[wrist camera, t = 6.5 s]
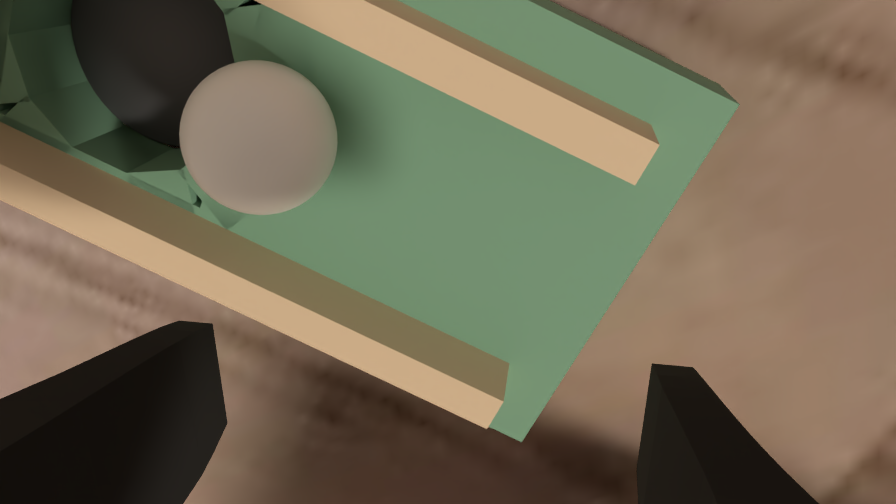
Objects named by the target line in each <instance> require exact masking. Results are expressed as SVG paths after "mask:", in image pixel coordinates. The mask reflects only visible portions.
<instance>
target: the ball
mask: <svg viewBox="0 0 896 504" xmlns="http://www.w3.org/2000/svg"><path fill="white" fill-rule="evenodd" d="M179 139H180V147H181V152H182V156H183V159H184V162H185V165H186V167H187V169H188V171H189V173H190V175H191V176H192V177H193V179H194V180H195V182H196V183H197V184H198V186H199V187H200V188H201V189H202V190H203V191H204V192H205V193H206V194H207V195H209V196H210V197H211V198H212V199H214V200H215V201H217V202H218V203H220V204H222V205H224V206H226V207H228V208H230V209H232V210H235V211H238V212H242V213H247V214H254V215H271V214H277V213H281V212H285V211H288V210H291V209H293V208H295V207H297V206H299V205H301V204H302V203H304V202H306V201H307V200H308V199H310V198H311V197H312V196H313V195H314V194H315V193H316V192H317V191H318V190H319V189H320V188H321V187H322V186H323V184H324V183H325V181H326V180H327V178H328V176H329V174H330V173H331V170H332V167H333V165H334V162H335V158H336V153H337V144H338V141H337V129H336V123H335V120H334V116H333V113H332V111H331V109H330V107H329V104H328V103H327V101H326V100H325V98H324V96H323V95H322V94H321V92H320V91H319V90H318V89H317V87H316V86H315V85H314V84H313V83H311V82H310V81H309V80H308V79H307V78H306V77H304V76H303V75H302V74H300V73H298V72H297V71H295V70H293V69H291V68H289V67H287V66H284V65H282V64H278V63H274V62H270V61H263V60H248V61H240V62H236V63H232V64H229V65H227V66H224V67H222V68H219V69H218V70H216V71H215V72H213V73H211V74H210V75H208V76H207V77H206V78H205V79H204V80H202V81H201V82H200V83H199V85H198V86H197V87H196V88H195V89H194V91H193V92H192V93H191V95H190V97H189V98H188V100H187V102H186V105H185V107H184V109H183V113H182V117H181V121H180V130H179Z"/></svg>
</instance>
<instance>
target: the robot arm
mask: <svg viewBox="0 0 896 504" xmlns="http://www.w3.org/2000/svg"><path fill="white" fill-rule="evenodd" d="M226 425H227V417H226V411H225V404H224V397H223V391H222V384H221V377H220V371H219V364H218V357H217V350H216V344H215V337H214V330H213V324H210V323H199V322H188V321H177V322H174V323H171V324H168V325H165V326H163V327H160V328H158V329H155V330H153V331H151V332H148V333H146V334H144V335H142V336H139V337H137V338H135V339H133V340H131V341H128V342H126V343H124V344H122V345H120V346H118V347H115V348H113V349H111V350H109V351H107V352H105V353H103V354H100V355H98V356H96V357H94V358H92V359H90V360H88V361H85V362H83V363H81V364H79V365H77V366H75V367H72V368H70V369H68V370H66V371H64V372H62V373H59V374H57V375H55V376H53V377H50V378H48V379H46V380H43V381H41V382H39V383H36V384H34V385H32V386H29V387H27V388H25V389H22V390H20V391H18V392H15V393H13V394H11V395H8V396H6V397H4V398H1V399H0V504H183V503H184V502H185V500H186V499H187V497H188V496H189V494H190V493H191V491H192V490H193V488H194V487H195V485H196V483H197V482H198V480H199V479H200V477H201V476H202V474H203V472H204V470H205V468H206V466H207V464H208V462H209V461H210V459H211V457H212V455H213V453H214V451H215V449H216V446H217V444H218V442H219V440H220V438H221V436H222V434H223V431H224V429H225V427H226ZM637 487H638V504H819V503H818V502H816V501H815V500H814V499H813V498H812V497H811V496H810V495H809V494H808V493H807V492H806V491H805V490H804V489H803V488H802V487H801V486H800V485H799V484H798V483H797V482H796V481H795V480H794V479H793V478H792V477H790V476H789V475H788V474H787V473H786V472H785V471H784V470H783V469H782V468H781V467H780V466H779V465H778V463H777V462H776V461H775V460H774V459H773V458H772V457H771V456H770V455H769V454H768V453H767V452H766V451H765V450H764V449H763V448H762V447H761V446H760V444H759V443H758V442H757V441H756V440H755V439H754V438H753V437H752V436H751V435H750V434H749V432H748V431H747V430H746V429H745V428H744V427H743V426H742V424H741V423H740V422H739V421H738V420H737V419H736V417H735V416H734V415H733V414H732V413H731V412H730V410H729V409H728V408H727V407H726V406H725V405H724V403H723V402H722V401H721V400H720V399H719V397H718V396H717V395H716V394H715V393H714V391H713V390H712V389H711V388H710V387H709V385H708V384H707V383H706V382H705V381H704V379H703V378H702V377H701V376H700V375H699V374H698V372H697V371H696V370H695V369H694V368H693V367H684V366H673V365H662V364H652V366H651V373H650V380H649V387H648V394H647V401H646V408H645V415H644V422H643V429H642V435H641V442H640V449H639V456H638V463H637Z"/></svg>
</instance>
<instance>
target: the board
mask: <svg viewBox="0 0 896 504" xmlns="http://www.w3.org/2000/svg"><path fill="white" fill-rule="evenodd" d="M248 60H263V61H270V62H274V63H278V64H282V65H284V66H287V67H289V68H291V69H293V70H295V71H297V72H298V73H300V74H302V75H303V76H304V77H306V78H307V79H308V80H309V81H310V82H311V83H313V84H314V85H315V86H316V87H317V89H318V90H319V91H320V92H321V94H322V95H323V96H324V98H325V100H326V101H327V103H328V104H329V107H330V109H331V111H332V113H333V116H334V120H335V123H336V129H337V141H338V144H337V153H336V158H335V162H334V165H333V167H332V170H331V173H330V174H329V176H328V178H327V180H326V181H325V183H324V184H323V186H322V187H321V188H320V189H319V190H318V191H317V192H316V193H315V194H314V195H313V196H312V197H311V198H310V199H308V200H307V201H306V202H304V203H302V204H301V205H299V206H297V207H295V208H293V209H291V210H288V211H285V212H281V213H277V214H271V215H254V214H247V213H242V212H238V211H235V210H232V209H230V208H228V207H226V206H224V205H222V204H220V203H218V202H217V201H215V200H214V199H212V198H211V197H210V196H209V195H207V194H206V193H205V192H204V191H203V190H202V189H201V188H200V187H199V186H198V184H197V183H196V182H195V180H194V179H193V177H192V176H191V175H190V173H189V171H188V169H187V167H186V165H185V162H184V159H183V156H182V152H181V148H172V147H170V146H168V145H173V146H180V139H179V130H180V121H181V117H182V113H183V109H184V107H185V105H186V102H187V100H188V98H189V97H190V95H191V93H192V92H193V91H194V89H195V88H196V87H197V86H198V85H199V83H200V82H201V81H202V80H204V79H205V78H206V77H207V76H208V75H210V74H211V73H213V72H215V71H216V70H218V69H219V68H222V67H224V66H227V65H229V64H232V63H236V62H240V61H248ZM739 105H740V104H739V103H738V102H737V101H736V100H734V99H733V98H732V97H731V96H730V95H729V94H728V93H727V92H726V91H725V90H724V89H723V88H722V87H721V86H720V85H719V84H718V83H716V82H714V81H712V80H710V79H708V78H706V77H704V76H702V75H700V74H697V73H695V72H693V71H691V70H689V69H687V68H685V67H683V66H681V65H679V64H677V63H675V62H673V61H671V60H669V59H667V58H665V57H663V56H661V55H659V54H657V53H655V52H653V51H651V50H649V49H647V48H645V47H643V46H641V45H639V44H637V43H635V42H633V41H631V40H629V39H627V38H625V37H623V36H620V35H618V34H616V33H614V32H612V31H610V30H608V29H606V28H604V27H602V26H600V25H598V24H596V23H594V22H592V21H590V20H588V19H586V18H584V17H582V16H580V15H578V14H576V13H574V12H572V11H570V10H568V9H566V8H564V7H562V6H560V5H558V4H556V3H554V2H552V1H550V0H0V200H1V201H3V202H6V203H8V204H10V205H12V206H14V207H16V208H18V209H20V210H23V211H25V212H27V213H29V214H31V215H33V216H35V217H37V218H40V219H42V220H44V221H46V222H48V223H50V224H52V225H54V226H56V227H59V228H61V229H63V230H65V231H67V232H69V233H71V234H73V235H76V236H78V237H80V238H82V239H84V240H86V241H88V242H90V243H93V244H95V245H97V246H99V247H101V248H103V249H105V250H107V251H110V252H112V253H114V254H116V255H118V256H120V257H122V258H124V259H127V260H129V261H131V262H133V263H135V264H137V265H139V266H141V267H144V268H146V269H148V270H150V271H152V272H154V273H156V274H158V275H161V276H163V277H165V278H167V279H169V280H171V281H173V282H175V283H178V284H180V285H182V286H184V287H186V288H188V289H190V290H192V291H195V292H197V293H199V294H201V295H203V296H205V297H207V298H209V299H212V300H214V301H216V302H218V303H220V304H222V305H224V306H226V307H229V308H231V309H233V310H235V311H237V312H239V313H241V314H243V315H246V316H248V317H250V318H252V319H254V320H256V321H258V322H260V323H262V324H265V325H267V326H269V327H271V328H273V329H275V330H277V331H279V332H282V333H284V334H286V335H288V336H290V337H292V338H294V339H296V340H299V341H301V342H303V343H305V344H307V345H309V346H311V347H313V348H316V349H318V350H320V351H322V352H324V353H326V354H328V355H330V356H333V357H335V358H337V359H339V360H341V361H343V362H345V363H347V364H350V365H352V366H354V367H356V368H358V369H360V370H362V371H364V372H367V373H369V374H371V375H373V376H375V377H377V378H379V379H381V380H384V381H386V382H388V383H390V384H392V385H394V386H396V387H398V388H401V389H403V390H405V391H407V392H409V393H411V394H413V395H415V396H418V397H420V398H422V399H424V400H426V401H428V402H430V403H432V404H435V405H437V406H439V407H441V408H443V409H445V410H447V411H449V412H452V413H454V414H456V415H458V416H460V417H462V418H464V419H466V420H468V421H471V422H473V423H475V424H477V425H479V426H481V427H483V428H485V429H487V428H488V427H490V428H492V429H495V430H497V431H499V432H501V433H503V434H505V435H507V436H509V437H512V438H514V439H516V440H518V441H520V442H522V441H523V439H524V438H525V436H526V435H527V433H528V432H529V430H530V429H531V427H532V425H533V424H534V422H535V421H536V419H537V418H538V416H539V415H540V413H541V412H542V410H543V408H544V407H545V405H546V404H547V402H548V401H549V399H550V398H551V396H552V394H553V393H554V391H555V390H556V388H557V387H558V385H559V384H560V382H561V381H562V379H563V377H564V376H565V374H566V373H567V371H568V370H569V368H570V367H571V365H572V364H573V362H574V360H575V359H576V357H577V356H578V354H579V353H580V351H581V350H582V348H583V346H584V345H585V343H586V342H587V340H588V339H589V337H590V336H591V334H592V333H593V331H594V329H595V328H596V326H597V325H598V323H599V322H600V320H601V319H602V317H603V315H604V314H605V312H606V311H607V309H608V308H609V306H610V305H611V303H612V302H613V300H614V298H615V297H616V295H617V294H618V292H619V291H620V289H621V288H622V286H623V285H624V283H625V281H626V280H627V278H628V277H629V275H630V274H631V272H632V271H633V269H634V267H635V266H636V264H637V263H638V261H639V260H640V258H641V257H642V255H643V254H644V252H645V250H646V249H647V247H648V246H649V244H650V243H651V241H652V240H653V238H654V236H655V235H656V233H657V232H658V230H659V229H660V227H661V226H662V224H663V223H664V221H665V219H666V218H667V216H668V215H669V213H670V212H671V210H672V209H673V207H674V206H675V204H676V202H677V201H678V199H679V198H680V196H681V195H682V193H683V192H684V190H685V188H686V187H687V185H688V184H689V182H690V181H691V179H692V178H693V176H694V175H695V173H696V171H697V170H698V168H699V167H700V165H701V164H702V162H703V161H704V159H705V157H706V156H707V154H708V153H709V151H710V150H711V148H712V147H713V145H714V144H715V142H716V140H717V139H718V137H719V136H720V134H721V133H722V131H723V130H724V128H725V127H726V125H727V123H728V122H729V120H730V119H731V117H732V116H733V114H734V113H735V111H736V109H737V108H738V106H739ZM124 124H126V125H127V126H126V125H124ZM128 126H129V127H128ZM163 143H164V144H163ZM166 144H168V145H166Z"/></svg>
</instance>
